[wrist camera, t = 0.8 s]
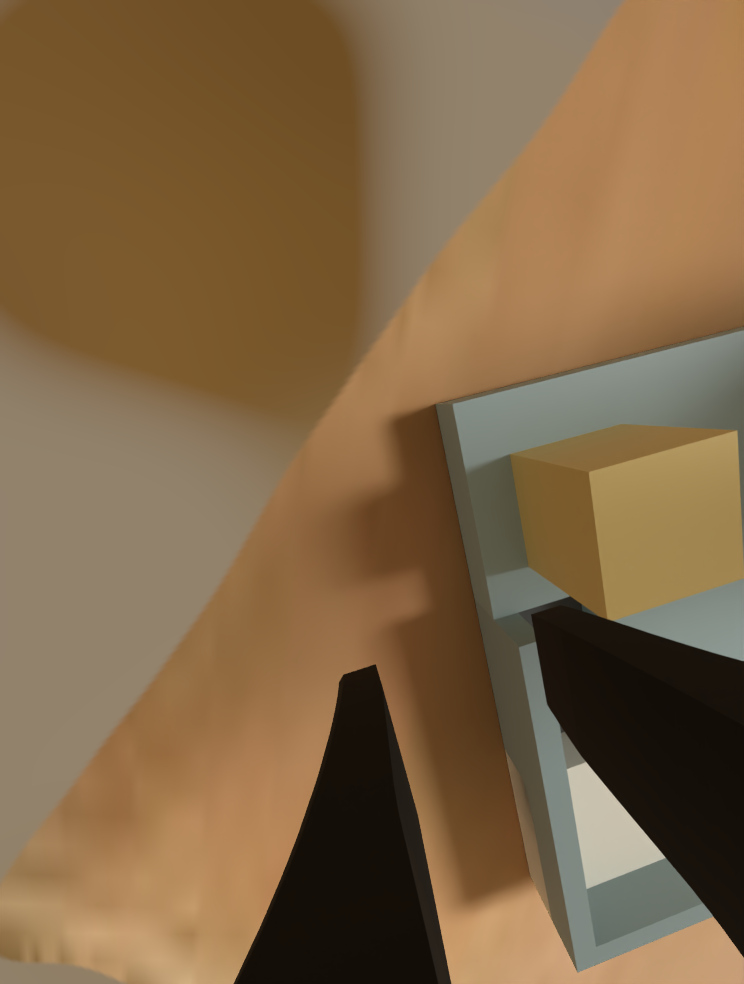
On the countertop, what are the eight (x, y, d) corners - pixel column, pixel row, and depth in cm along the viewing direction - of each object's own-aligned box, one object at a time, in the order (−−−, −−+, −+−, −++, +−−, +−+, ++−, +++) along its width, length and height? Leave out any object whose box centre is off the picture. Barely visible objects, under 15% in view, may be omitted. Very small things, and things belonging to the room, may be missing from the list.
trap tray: (806, 310, 19) (935, 286, 15) (811, 767, 24) (907, 835, 21) (435, 404, 17) (474, 403, 13) (530, 875, 23) (577, 972, 19)
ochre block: (621, 423, 16) (737, 430, 12) (633, 535, 17) (744, 578, 13) (509, 453, 16) (588, 471, 12) (528, 566, 17) (607, 622, 13)
